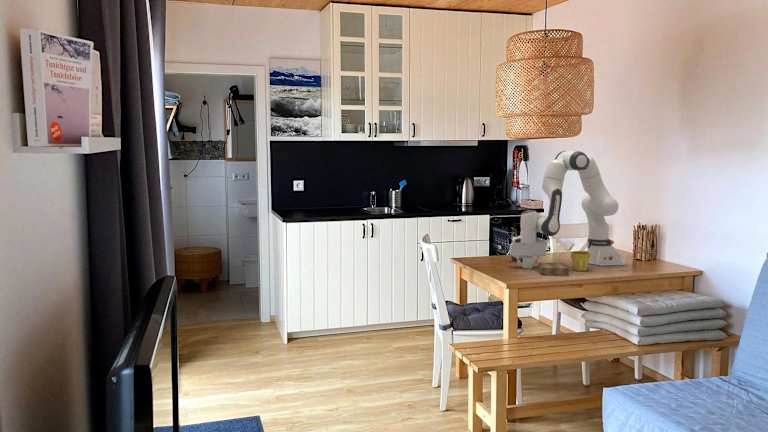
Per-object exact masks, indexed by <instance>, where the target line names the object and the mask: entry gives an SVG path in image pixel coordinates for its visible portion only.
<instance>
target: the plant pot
mask: <svg viewBox="0 0 768 432" xmlns="http://www.w3.org/2000/svg"><path fill="white" fill-rule="evenodd" d="M570 259H571V260H572V266H573V270H574V271H577V272H587V269H588V265H589V263H588V262H589V259H590V252H587V251H585V250H584V251H583V250H575V251H573V250H572V251H571V252H570Z"/></svg>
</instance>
